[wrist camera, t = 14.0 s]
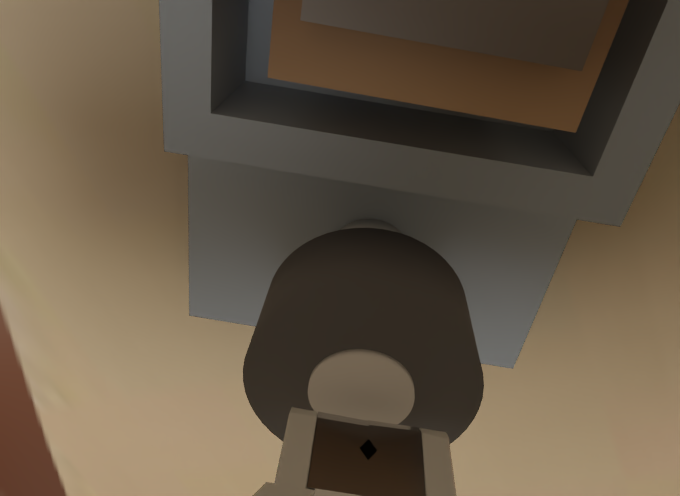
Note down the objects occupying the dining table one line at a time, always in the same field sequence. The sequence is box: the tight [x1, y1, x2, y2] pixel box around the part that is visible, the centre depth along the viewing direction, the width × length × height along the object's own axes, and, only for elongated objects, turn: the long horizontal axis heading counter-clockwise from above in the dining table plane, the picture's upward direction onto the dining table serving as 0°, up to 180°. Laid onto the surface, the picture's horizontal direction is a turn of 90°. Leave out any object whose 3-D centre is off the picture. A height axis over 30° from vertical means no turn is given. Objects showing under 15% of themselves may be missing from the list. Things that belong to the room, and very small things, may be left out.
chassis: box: [159, 0, 680, 369], centre depth 13 cm, size 17×11×5 cm, turn 172°
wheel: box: [243, 228, 484, 444], centre depth 12 cm, size 5×5×3 cm
